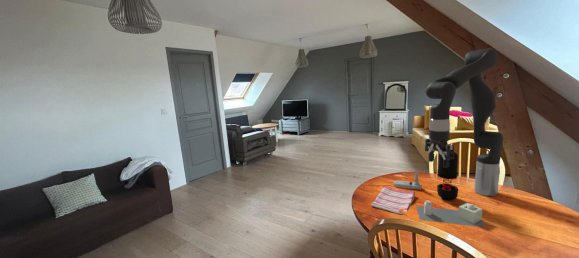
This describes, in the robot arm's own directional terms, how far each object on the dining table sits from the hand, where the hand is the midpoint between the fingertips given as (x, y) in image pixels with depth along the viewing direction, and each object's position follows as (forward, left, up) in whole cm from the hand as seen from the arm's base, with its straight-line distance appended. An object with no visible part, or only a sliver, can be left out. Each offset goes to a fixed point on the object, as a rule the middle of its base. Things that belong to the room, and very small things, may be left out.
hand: (438, 164), depth 105 cm
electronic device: (-11, -28, -25) cm, 40 cm away
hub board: (-1, +5, -25) cm, 25 cm away
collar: (-7, +10, -23) cm, 26 cm away
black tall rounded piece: (-16, -7, -25) cm, 31 cm away
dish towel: (+8, -18, -25) cm, 32 cm away
